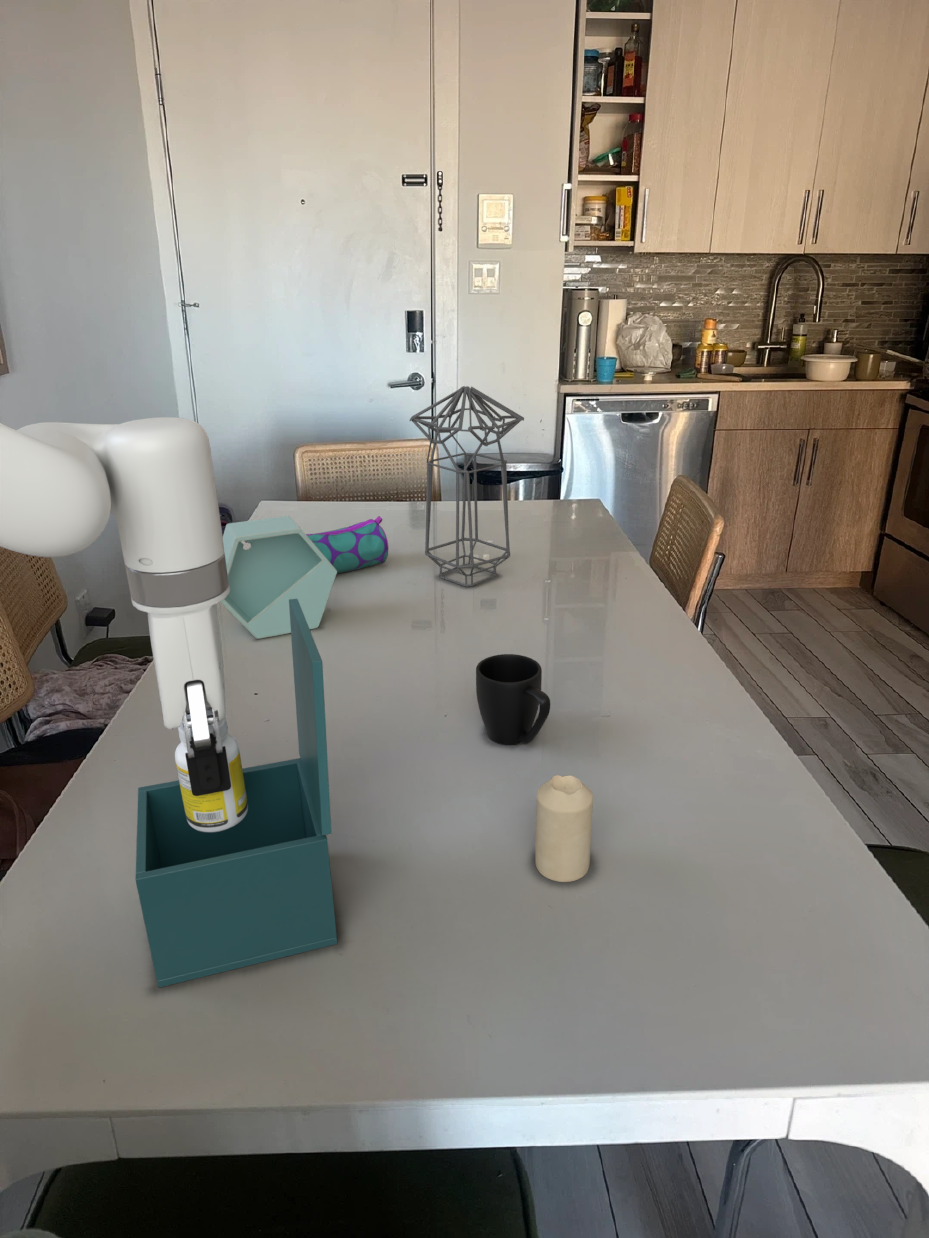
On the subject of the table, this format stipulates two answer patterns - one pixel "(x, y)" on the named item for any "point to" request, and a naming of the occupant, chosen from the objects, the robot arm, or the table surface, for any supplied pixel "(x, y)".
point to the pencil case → (353, 545)
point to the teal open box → (234, 878)
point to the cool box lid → (310, 713)
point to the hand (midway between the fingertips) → (209, 769)
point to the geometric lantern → (466, 472)
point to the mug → (511, 698)
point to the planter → (274, 575)
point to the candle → (563, 828)
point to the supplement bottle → (220, 806)
